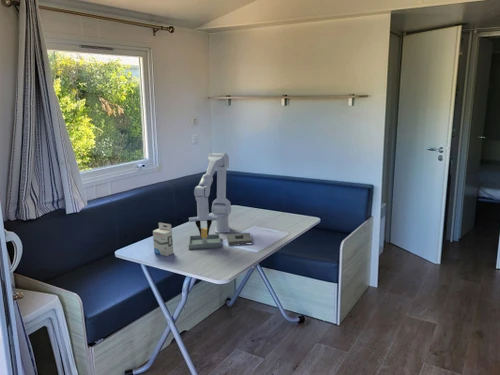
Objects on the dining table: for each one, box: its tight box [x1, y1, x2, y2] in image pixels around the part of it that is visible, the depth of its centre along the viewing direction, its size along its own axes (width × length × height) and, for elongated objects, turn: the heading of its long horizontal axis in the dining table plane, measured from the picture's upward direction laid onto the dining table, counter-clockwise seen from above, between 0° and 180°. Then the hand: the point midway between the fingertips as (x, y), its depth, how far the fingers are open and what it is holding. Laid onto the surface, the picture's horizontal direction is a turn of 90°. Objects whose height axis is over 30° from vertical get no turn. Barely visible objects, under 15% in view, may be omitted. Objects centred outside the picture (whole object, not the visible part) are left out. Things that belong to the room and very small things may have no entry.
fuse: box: [201, 227, 207, 243], centre depth 226 cm, size 4×3×7 cm
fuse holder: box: [226, 232, 253, 246], centre depth 230 cm, size 12×12×2 cm
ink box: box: [152, 222, 174, 257], centre depth 214 cm, size 8×5×15 cm, turn 60°
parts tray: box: [188, 233, 222, 250], centre depth 227 cm, size 14×16×2 cm
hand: (204, 234), depth 226 cm, fingers closed on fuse, 3 cm apart
